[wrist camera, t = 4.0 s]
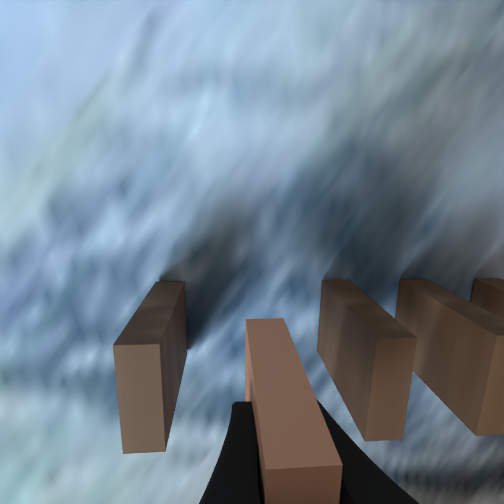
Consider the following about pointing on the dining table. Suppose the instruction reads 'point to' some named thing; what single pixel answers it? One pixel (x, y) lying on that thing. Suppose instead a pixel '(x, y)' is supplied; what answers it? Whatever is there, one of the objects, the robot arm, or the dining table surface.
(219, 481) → the robot arm
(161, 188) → the dining table surface
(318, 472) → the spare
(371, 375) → the domino
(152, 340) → the domino
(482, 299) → the domino
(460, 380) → the domino
